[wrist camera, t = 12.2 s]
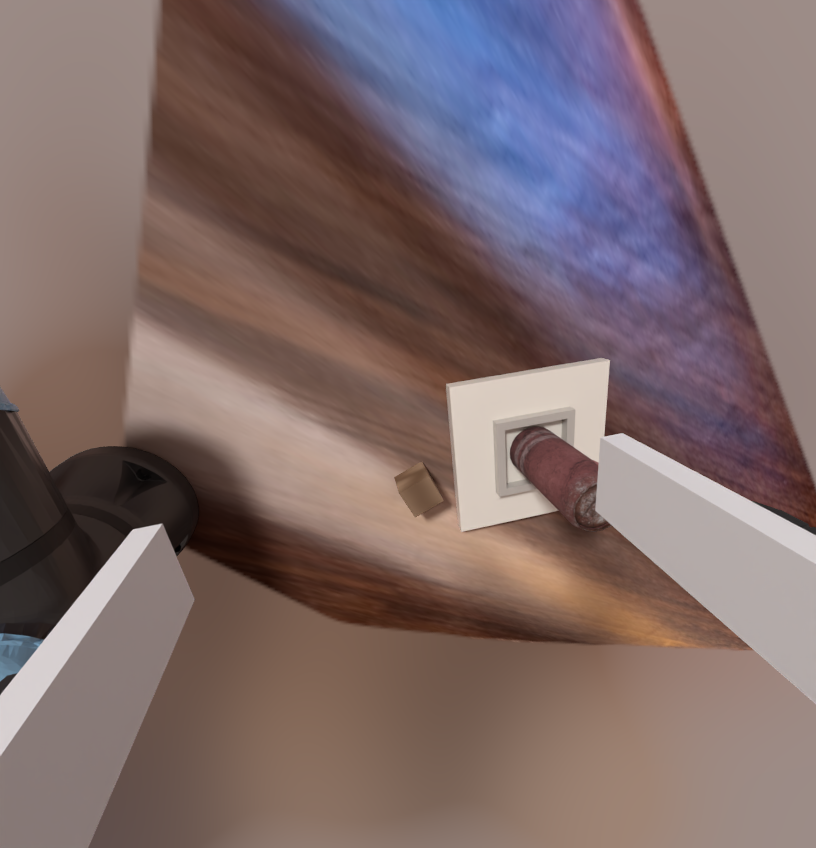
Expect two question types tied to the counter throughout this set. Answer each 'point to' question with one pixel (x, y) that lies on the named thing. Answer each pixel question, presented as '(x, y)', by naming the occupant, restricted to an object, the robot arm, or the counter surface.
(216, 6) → the counter surface
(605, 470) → the robot arm
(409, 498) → the walnut block
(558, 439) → the can
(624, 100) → the counter surface
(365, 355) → the counter surface
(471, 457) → the board
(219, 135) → the counter surface
